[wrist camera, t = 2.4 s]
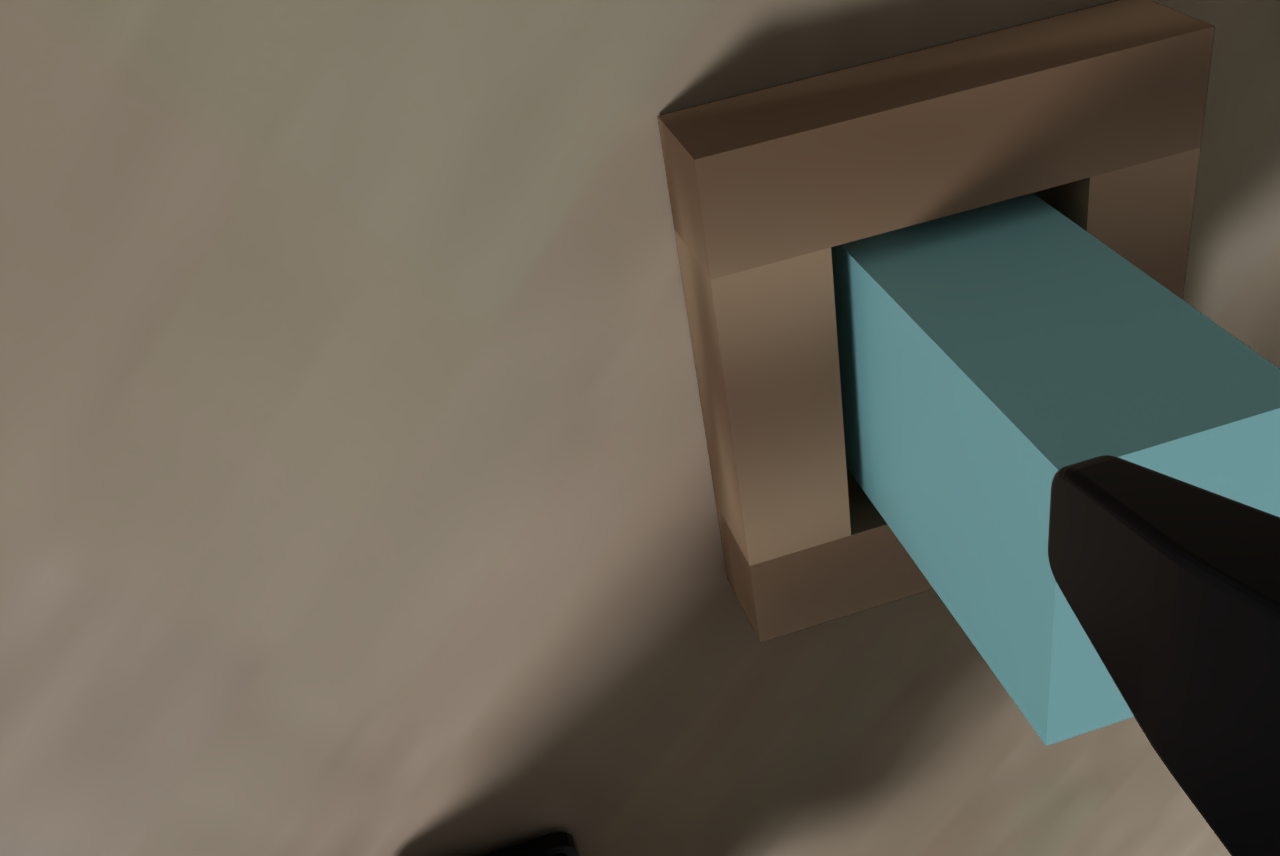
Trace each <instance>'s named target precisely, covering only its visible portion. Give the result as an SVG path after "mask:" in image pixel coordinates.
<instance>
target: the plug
mask: <svg viewBox="0 0 1280 856" xmlns="http://www.w3.org/2000/svg"><path fill="white" fill-rule="evenodd" d="M831 254H832V269H833V283H834V297H835V311H836V326H837V340H838V354H839V368H840V383H841V397H842V411H843V425H844V440H845V454H846V467H847V468H848V470H849V471H850V473H851V474H852V475H853V477H854V478H855V480H856V481H857V482H858V484H859V485H860V487H861V488H862V489H863V491H864V492H865V494H866V495H867V496H868V498H869V499H870V501H871V502H872V503H873V505H874V506H875V508H876V509H877V510H878V512H879V513H880V515H881V516H882V517H883V519H884V520H885V522H886V523H887V524H888V526H889V527H890V529H891V530H892V531H893V533H894V534H895V536H896V537H897V538H898V540H899V541H900V543H901V544H902V545H903V547H904V548H905V550H906V551H907V552H908V554H909V555H910V557H911V558H912V559H913V561H914V562H915V564H916V565H917V566H918V568H919V569H920V571H921V572H922V573H923V575H924V576H925V578H926V579H927V580H928V582H929V583H930V585H931V586H932V587H933V589H934V590H935V591H936V593H937V594H938V596H939V597H940V598H941V600H942V601H943V603H944V604H945V605H946V607H947V608H948V610H949V611H950V612H951V614H952V615H953V617H954V618H955V619H956V621H957V622H958V624H959V625H960V626H961V628H962V629H963V631H964V632H965V633H966V635H967V636H968V638H969V639H970V640H971V642H972V643H973V645H974V646H975V647H976V649H977V650H978V652H979V653H980V654H981V656H982V657H983V659H984V660H985V661H986V663H987V664H988V666H989V667H990V668H991V670H992V671H993V673H994V674H995V675H996V677H997V678H998V680H999V681H1000V682H1001V684H1002V685H1003V687H1004V688H1005V689H1006V691H1007V692H1008V694H1009V695H1010V696H1011V698H1012V699H1013V701H1014V702H1015V703H1016V705H1017V706H1018V708H1019V709H1020V710H1021V712H1022V713H1023V715H1024V716H1025V717H1026V719H1027V720H1028V721H1029V723H1030V724H1031V726H1032V727H1033V728H1034V730H1035V731H1036V733H1037V734H1038V735H1039V737H1040V738H1041V740H1042V741H1043V742H1044V744H1045V745H1046V746H1048V745H1051V744H1054V743H1057V742H1060V741H1063V740H1066V739H1069V738H1071V737H1074V736H1077V735H1080V734H1083V733H1086V732H1089V731H1092V730H1095V729H1098V728H1101V727H1104V726H1107V725H1110V724H1113V723H1116V722H1119V721H1122V720H1125V719H1128V718H1131V717H1134V715H1133V714H1132V712H1131V710H1130V709H1129V707H1128V705H1127V703H1126V702H1125V700H1124V698H1123V696H1122V695H1121V693H1120V691H1119V690H1118V688H1117V686H1116V684H1115V683H1114V681H1113V679H1112V678H1111V676H1110V674H1109V672H1108V671H1107V669H1106V667H1105V665H1104V664H1103V662H1102V660H1101V659H1100V657H1099V655H1098V653H1097V652H1096V650H1095V648H1094V647H1093V645H1092V643H1091V641H1090V640H1089V638H1088V636H1087V634H1086V633H1085V631H1084V629H1083V628H1082V626H1081V624H1080V622H1079V621H1078V619H1077V617H1076V616H1075V614H1074V612H1073V610H1072V609H1071V607H1070V605H1069V603H1068V602H1067V600H1066V598H1065V597H1064V595H1063V593H1062V591H1061V590H1060V588H1059V586H1058V584H1057V582H1056V581H1055V578H1054V576H1053V573H1052V571H1051V567H1050V564H1049V558H1048V535H1049V516H1050V497H1051V485H1052V480H1053V477H1054V475H1055V474H1056V472H1057V471H1058V470H1060V469H1061V468H1063V467H1065V466H1068V465H1071V464H1075V463H1078V462H1081V461H1085V460H1088V459H1091V458H1095V457H1098V456H1104V455H1110V456H1115V457H1118V458H1121V459H1124V460H1127V461H1129V462H1132V463H1135V464H1137V465H1140V466H1143V467H1146V468H1148V469H1151V470H1154V471H1156V472H1159V473H1162V474H1164V475H1167V476H1170V477H1173V478H1175V479H1178V480H1181V481H1183V482H1186V483H1189V484H1191V485H1194V486H1197V487H1199V488H1202V489H1205V490H1208V491H1210V492H1213V493H1216V494H1218V495H1221V496H1224V497H1226V498H1229V499H1232V500H1235V501H1237V502H1240V503H1243V504H1245V505H1248V506H1251V507H1253V508H1256V509H1259V510H1261V511H1264V512H1267V513H1270V514H1272V515H1275V516H1278V517H1280V369H1279V368H1278V367H1276V366H1275V365H1273V364H1272V363H1271V362H1269V361H1268V360H1266V359H1265V358H1263V357H1262V356H1261V355H1259V354H1258V353H1256V352H1255V351H1254V350H1252V349H1251V348H1249V347H1248V346H1247V345H1245V344H1244V343H1242V342H1241V341H1240V340H1238V339H1237V338H1235V337H1234V336H1233V335H1231V334H1230V333H1228V332H1227V331H1226V330H1224V329H1223V328H1221V327H1220V326H1219V325H1217V324H1216V323H1214V322H1213V321H1212V320H1210V319H1209V318H1207V317H1206V316H1205V315H1203V314H1202V313H1200V312H1199V311H1198V310H1196V309H1195V308H1193V307H1192V306H1191V305H1189V304H1188V303H1186V302H1185V301H1184V300H1182V299H1181V298H1179V297H1178V296H1176V295H1175V294H1174V293H1172V292H1171V291H1169V290H1168V289H1167V288H1165V287H1164V286H1162V285H1161V284H1160V283H1158V282H1157V281H1155V280H1154V279H1153V278H1151V277H1150V276H1148V275H1147V274H1146V273H1144V272H1143V271H1141V270H1140V269H1139V268H1137V267H1136V266H1134V265H1133V264H1132V263H1130V262H1129V261H1127V260H1126V259H1125V258H1123V257H1122V256H1120V255H1119V254H1118V253H1116V252H1115V251H1113V250H1112V249H1111V248H1109V247H1108V246H1106V245H1105V244H1104V243H1102V242H1101V241H1099V240H1098V239H1097V238H1095V237H1094V236H1092V235H1091V234H1089V233H1088V232H1087V231H1085V230H1084V229H1082V228H1081V227H1080V226H1078V225H1077V224H1075V223H1074V222H1073V221H1071V220H1070V219H1068V218H1067V217H1066V216H1064V215H1063V214H1061V213H1060V212H1059V211H1057V210H1056V209H1054V208H1053V207H1052V206H1050V205H1049V204H1047V203H1046V202H1045V201H1043V200H1042V199H1040V198H1039V197H1038V196H1036V195H1035V194H1033V193H1030V194H1027V195H1023V196H1019V197H1015V198H1012V199H1008V200H1004V201H1001V202H997V203H993V204H990V205H986V206H982V207H978V208H975V209H971V210H967V211H964V212H960V213H956V214H952V215H949V216H945V217H941V218H938V219H934V220H930V221H927V222H923V223H919V224H915V225H912V226H908V227H904V228H901V229H897V230H893V231H890V232H886V233H882V234H878V235H875V236H871V237H867V238H864V239H860V240H856V241H852V242H849V243H845V244H841V245H838V246H834V247H831Z"/></svg>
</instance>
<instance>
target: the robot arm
mask: <svg viewBox="0 0 1280 856" xmlns="http://www.w3.org/2000/svg"><path fill="white" fill-rule="evenodd" d="M1048 558H1049V564H1050V567H1051V571H1052V573H1053V576H1054V578H1055V581H1056V582H1057V584H1058V586H1059V588H1060V590H1061V591H1062V593H1063V595H1064V597H1065V598H1066V600H1067V602H1068V603H1069V605H1070V607H1071V609H1072V610H1073V612H1074V614H1075V616H1076V617H1077V619H1078V621H1079V622H1080V624H1081V626H1082V628H1083V629H1084V631H1085V633H1086V634H1087V636H1088V638H1089V640H1090V641H1091V643H1092V645H1093V647H1094V648H1095V650H1096V652H1097V653H1098V655H1099V657H1100V659H1101V660H1102V662H1103V664H1104V665H1105V667H1106V669H1107V671H1108V672H1109V674H1110V676H1111V678H1112V679H1113V681H1114V683H1115V684H1116V686H1117V688H1118V690H1119V691H1120V693H1121V695H1122V696H1123V698H1124V700H1125V702H1126V703H1127V705H1128V707H1129V709H1130V710H1131V712H1132V714H1133V715H1134V717H1135V719H1136V721H1137V722H1138V724H1139V726H1140V727H1141V729H1142V730H1143V732H1144V734H1145V735H1146V737H1147V738H1148V740H1149V742H1150V743H1151V745H1152V747H1153V748H1154V750H1155V751H1156V753H1157V754H1158V755H1159V757H1160V758H1161V760H1162V761H1163V763H1164V764H1165V765H1166V767H1167V768H1168V770H1169V771H1170V773H1171V774H1172V775H1173V777H1174V778H1175V780H1176V781H1177V782H1178V784H1179V785H1180V786H1181V788H1182V789H1183V790H1184V792H1185V793H1186V794H1187V796H1188V797H1189V799H1190V800H1191V801H1192V803H1193V804H1194V805H1195V807H1196V808H1197V809H1198V811H1199V812H1200V813H1201V815H1202V816H1203V818H1204V819H1205V820H1206V822H1207V823H1208V824H1209V826H1210V827H1211V828H1212V830H1213V831H1214V832H1215V834H1216V835H1217V836H1218V838H1219V839H1220V841H1221V842H1222V843H1223V845H1224V846H1225V847H1226V849H1227V850H1228V851H1229V853H1230V854H1231V855H1232V856H1280V517H1278V516H1275V515H1272V514H1270V513H1267V512H1264V511H1261V510H1259V509H1256V508H1253V507H1251V506H1248V505H1245V504H1243V503H1240V502H1237V501H1235V500H1232V499H1229V498H1226V497H1224V496H1221V495H1218V494H1216V493H1213V492H1210V491H1208V490H1205V489H1202V488H1199V487H1197V486H1194V485H1191V484H1189V483H1186V482H1183V481H1181V480H1178V479H1175V478H1173V477H1170V476H1167V475H1164V474H1162V473H1159V472H1156V471H1154V470H1151V469H1148V468H1146V467H1143V466H1140V465H1137V464H1135V463H1132V462H1129V461H1127V460H1124V459H1121V458H1118V457H1115V456H1110V455H1104V456H1098V457H1095V458H1091V459H1088V460H1085V461H1081V462H1078V463H1075V464H1071V465H1068V466H1065V467H1063V468H1061V469H1060V470H1058V471H1057V472H1056V474H1055V475H1054V477H1053V480H1052V485H1051V497H1050V516H1049V535H1048ZM482 856H580V854H579V851H578V848H577V844H576V841H575V839H574V837H573V836H572V835H571V834H569V833H567V832H554V833H549V834H546V835H543V836H540V837H537V838H534V839H531V840H528V841H525V842H522V843H518V844H515V845H512V846H509V847H506V848H503V849H500V850H497V851H494V852H491V853H488V854H485V855H482Z"/></svg>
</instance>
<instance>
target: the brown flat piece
mask: <svg viewBox="0 0 1280 856" xmlns="http://www.w3.org/2000/svg"><path fill="white" fill-rule="evenodd" d="M1214 30H1215V26H1213V25H1210V24H1208V23H1205V22H1203V21H1200V20H1198V19H1195V18H1193V17H1191V16H1188V15H1186V14H1183V13H1181V12H1178V11H1176V10H1173V9H1171V8H1168V7H1166V6H1163V5H1161V4H1158V3H1156V2H1153V1H1151V0H1119V1H1115V2H1111V3H1107V4H1103V5H1099V6H1095V7H1091V8H1087V9H1083V10H1079V11H1075V12H1071V13H1067V14H1063V15H1059V16H1055V17H1051V18H1047V19H1043V20H1039V21H1035V22H1031V23H1027V24H1023V25H1019V26H1015V27H1011V28H1007V29H1003V30H999V31H995V32H991V33H987V34H983V35H979V36H975V37H971V38H967V39H963V40H959V41H955V42H951V43H947V44H943V45H939V46H935V47H931V48H927V49H923V50H919V51H915V52H911V53H907V54H903V55H899V56H895V57H891V58H887V59H883V60H879V61H875V62H871V63H867V64H863V65H859V66H855V67H851V68H847V69H843V70H839V71H835V72H831V73H827V74H823V75H819V76H815V77H811V78H807V79H804V80H800V81H796V82H792V83H788V84H784V85H780V86H776V87H772V88H768V89H764V90H760V91H756V92H752V93H748V94H744V95H740V96H736V97H732V98H728V99H724V100H720V101H716V102H712V103H708V104H704V105H700V106H696V107H692V108H688V109H684V110H680V111H676V112H672V113H668V114H664V115H660V116H657V117H658V123H659V130H660V136H661V143H662V150H663V156H664V163H665V169H666V176H667V183H668V189H669V196H670V202H671V209H672V216H673V222H674V229H675V235H676V242H677V249H678V255H679V262H680V269H681V275H682V282H683V288H684V295H685V302H686V308H687V315H688V321H689V328H690V335H691V341H692V348H693V354H694V361H695V368H696V374H697V381H698V387H699V394H700V401H701V407H702V414H703V421H704V427H705V434H706V440H707V447H708V454H709V460H710V467H711V473H712V480H713V487H714V493H715V500H716V506H717V513H718V520H719V526H720V533H721V539H722V546H723V553H724V559H725V566H726V572H727V578H728V580H729V582H730V584H731V586H732V588H733V590H734V592H735V594H736V596H737V598H738V600H739V602H740V604H741V606H742V608H743V610H744V612H745V614H746V616H747V618H748V620H749V622H750V624H751V626H752V628H753V630H754V632H755V634H756V636H757V638H758V640H759V642H760V643H761V642H764V641H768V640H771V639H774V638H777V637H780V636H784V635H787V634H790V633H793V632H796V631H800V630H803V629H806V628H809V627H812V626H816V625H819V624H822V623H825V622H829V621H832V620H835V619H838V618H841V617H845V616H848V615H851V614H854V613H857V612H861V611H864V610H867V609H870V608H873V607H877V606H880V605H883V604H886V603H889V602H893V601H896V600H899V599H902V598H905V597H909V596H912V595H915V594H918V593H921V592H925V591H928V590H931V589H933V587H932V586H931V585H930V583H929V582H928V580H927V579H926V578H925V576H924V575H923V573H922V572H921V571H920V569H919V568H918V566H917V565H916V564H915V562H914V561H913V559H912V558H911V557H910V555H909V554H908V552H907V551H906V550H905V548H904V547H903V545H902V544H901V543H900V541H899V540H898V538H897V537H896V536H895V534H894V533H893V531H892V530H891V529H890V527H889V526H888V524H887V523H886V522H885V520H884V519H883V517H882V516H881V515H880V513H879V512H878V510H877V509H876V508H875V506H874V505H873V503H872V502H871V501H870V499H869V498H868V496H867V495H866V494H865V492H864V491H863V489H862V488H861V487H860V485H859V484H858V482H857V481H856V480H855V478H854V477H853V475H852V474H851V473H850V471H849V470H848V468H847V467H846V454H845V440H844V425H843V411H842V397H841V383H840V368H839V354H838V340H837V326H836V311H835V297H834V283H833V269H832V254H831V247H834V246H838V245H841V244H845V243H849V242H852V241H856V240H860V239H864V238H867V237H871V236H875V235H878V234H882V233H886V232H890V231H893V230H897V229H901V228H904V227H908V226H912V225H915V224H919V223H923V222H927V221H930V220H934V219H938V218H941V217H945V216H949V215H952V214H956V213H960V212H964V211H967V210H971V209H975V208H978V207H982V206H986V205H990V204H993V203H997V202H1001V201H1004V200H1008V199H1012V198H1015V197H1019V196H1023V195H1027V194H1030V193H1033V194H1035V195H1036V196H1038V197H1039V198H1040V199H1042V200H1043V201H1045V202H1046V203H1047V204H1049V205H1050V206H1052V207H1053V208H1054V209H1056V210H1057V211H1059V212H1060V213H1061V214H1063V215H1064V216H1066V217H1067V218H1068V219H1070V220H1071V221H1073V222H1074V223H1075V224H1077V225H1078V226H1080V227H1081V228H1082V229H1084V230H1085V231H1087V232H1088V233H1089V234H1091V235H1092V236H1094V237H1095V238H1097V239H1098V240H1099V241H1101V242H1102V243H1104V244H1105V245H1106V246H1108V247H1109V248H1111V249H1112V250H1113V251H1115V252H1116V253H1118V254H1119V255H1120V256H1122V257H1123V258H1125V259H1126V260H1127V261H1129V262H1130V263H1132V264H1133V265H1134V266H1136V267H1137V268H1139V269H1140V270H1141V271H1143V272H1144V273H1146V274H1147V275H1148V276H1150V277H1151V278H1153V279H1154V280H1155V281H1157V282H1158V283H1160V284H1161V285H1162V286H1164V287H1165V288H1167V289H1168V290H1169V291H1171V292H1172V293H1174V294H1175V295H1176V296H1178V297H1179V298H1181V299H1182V300H1183V292H1184V283H1185V275H1186V266H1187V258H1188V250H1189V241H1190V233H1191V224H1192V216H1193V207H1194V199H1195V191H1196V182H1197V174H1198V165H1199V157H1200V148H1201V140H1202V132H1203V123H1204V115H1205V106H1206V98H1207V89H1208V81H1209V73H1210V64H1211V56H1212V47H1213V39H1214Z"/></svg>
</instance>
